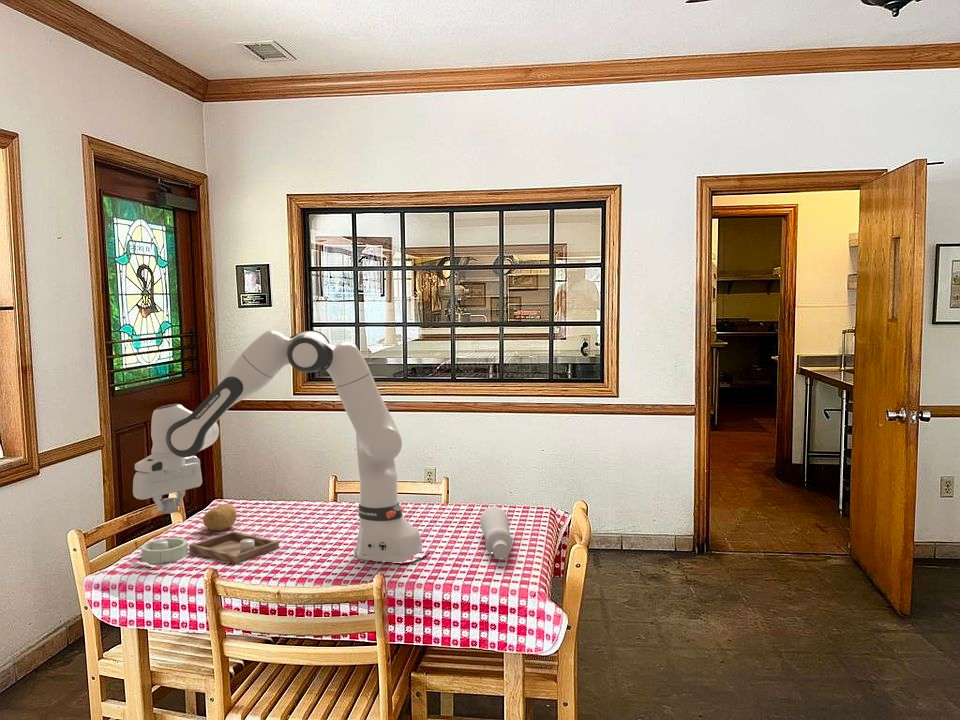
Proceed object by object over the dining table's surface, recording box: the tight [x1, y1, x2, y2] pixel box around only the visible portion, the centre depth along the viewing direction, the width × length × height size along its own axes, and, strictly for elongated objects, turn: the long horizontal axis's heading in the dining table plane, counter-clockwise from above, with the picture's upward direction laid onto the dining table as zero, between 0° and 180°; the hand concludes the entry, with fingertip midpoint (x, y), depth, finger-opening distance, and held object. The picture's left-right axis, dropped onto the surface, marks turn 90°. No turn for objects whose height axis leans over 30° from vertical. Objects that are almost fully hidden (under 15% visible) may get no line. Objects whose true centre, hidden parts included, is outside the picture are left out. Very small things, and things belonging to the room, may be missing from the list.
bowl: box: [140, 537, 189, 564], centre depth 204 cm, size 12×12×4 cm
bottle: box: [479, 505, 513, 559], centre depth 214 cm, size 9×9×30 cm
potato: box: [202, 503, 238, 532], centre depth 231 cm, size 10×14×8 cm
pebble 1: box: [153, 540, 168, 550], centre depth 204 cm, size 4×4×4 cm
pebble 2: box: [160, 497, 178, 515], centre depth 203 cm, size 4×4×4 cm
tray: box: [188, 530, 280, 565], centre depth 209 cm, size 20×16×3 cm
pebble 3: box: [240, 539, 254, 553], centre depth 206 cm, size 4×4×4 cm
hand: (169, 508), depth 203 cm, fingers closed on pebble 2, 4 cm apart
